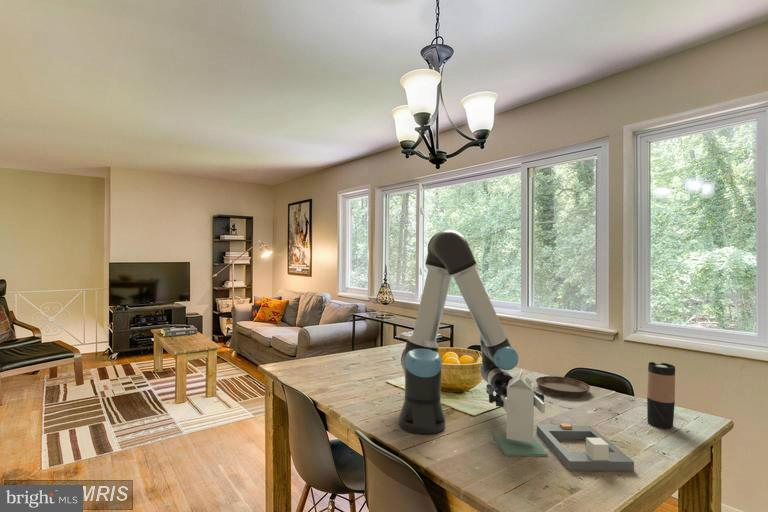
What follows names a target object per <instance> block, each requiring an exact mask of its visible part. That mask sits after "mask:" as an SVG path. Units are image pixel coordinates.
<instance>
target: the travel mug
mask: <svg viewBox="0 0 768 512" xmlns="http://www.w3.org/2000/svg"><path fill="white" fill-rule="evenodd" d="M647 366H648V367H647V389H646V390H647V393H646V402H647V403H646V404H647V405H646V410H647V411H646V412H647V413H646V416H647V423H648V425H650V426H652V427H655V428H659V429H664V430H670V429H673V428H674V420H675V419H674V416H675V404H676V399H675V398H676V397H675V396H676V366H675V365H673V364H670V363H666V362H661V363H655V361H651V362H648V364H647Z"/></svg>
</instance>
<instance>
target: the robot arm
mask: <svg viewBox="0 0 768 512" xmlns="http://www.w3.org/2000/svg"><path fill="white" fill-rule="evenodd" d="M424 265H425V267H426V269H427V274H426V277H425V281H424V287H423V290H422V294H421V297H420V298H421V299H420V302H419V307H418V310H417V311H418V312H417V315H416V319H415V324H414V327H413V332H412V334H411V335H409V336H408V337H407V339H406V343H405V347H404V349H403V351H402V353H401V357H400V363H401V364H400V365H401V367H402V370H403V373H404V401H403V404H402V407H401V410H400V413H399V416H398V425H399V427H400V428H401V429H402V430H404V431H406V432H409V433H412V434H418V435H433V434H437V433H440V432H442V431H443V430H445V428H446V416H445V412H444V409H443V405H442V402H441V399H442V398H441V395H442V394H441V389H442V387H441V386H442V367H443V364H442V357H441V355H440V353H439V348H440V345H439V343H438V342H437V337H438V334H439V329H440V326H441V321H442V317H443V313H444V309H445V304H446V300H447V297H448V293H449V292H448V291H449V288H450V283H451V279H452V277H453V279H454V281H455V282H456V285H457V287H458V290H459V291H460V293H461V296H462V298H463V299H464V302H465V305H466V306H467V308H468V310H469V311H468V312H469V313H470V315H471V317H472V319H473V322H474V324H475V326H476V328H477V330H478V332H479V343H480V352H481V366H480V374H481V377H482V378H483V380H484V381H485V382H486V383H487V384H486V394H488V401H489V402H488V403H490V404H493V403H495V406H496V407H502V409H503V410H504V411H505V412H506V414H507V413H510V403H509V402H508V401H507V386H508V383H509V381H510V380H511V379H512V378H514V377H513V376H512V375H511V374H509V372H508V371H510V370H512V369H515V368H516V367H517V365H518V363H519V354H518V352H517V351H516V350H515V348H513V347H512V345H511V343H510V341H509V339H508V337H507V334H506V333H505V330H504V328H503V326H502V323H501V321H500V319H499V317H498V314H497V312H496V310H495V309H494V305H493V303H492V302H491V300H490V298H489V295H488V293H487V290H486V289H485V285H484V283H483V282H482V279H481V277H480V275H479V273H478V271H477V269H476V267H477V265H478V263H477V261H476V259H475V257H474V254H473V251H472V249H471V247H470V245H469V243H468V241H467V239H466V237H465V236H464V235H463V234H462V233H461V232H458V231H456V230H451V229H450V230H449V229H447V230H444V231H440V232H437V233H435V234H434V235H433V236H431V238H429V241H428V243H427V255H426V259H425V263H424ZM494 393H495V395H494ZM534 407H535V408H536V409H537V410H538V411H539V412H540V413H541V414H545V413H546V403H545V394H544V393H542V392H540V391H539V390H537V389H535V388H534Z"/></svg>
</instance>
